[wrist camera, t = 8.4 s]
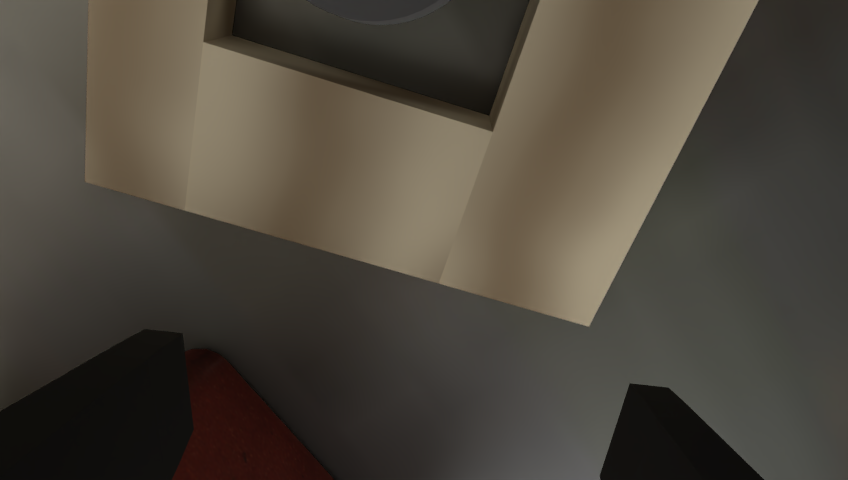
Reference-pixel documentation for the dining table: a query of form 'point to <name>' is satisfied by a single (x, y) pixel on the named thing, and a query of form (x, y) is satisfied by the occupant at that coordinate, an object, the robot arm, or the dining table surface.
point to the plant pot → (237, 430)
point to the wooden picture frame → (414, 140)
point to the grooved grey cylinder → (380, 10)
